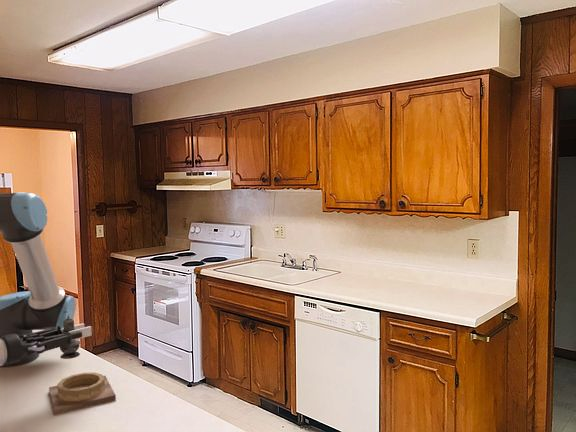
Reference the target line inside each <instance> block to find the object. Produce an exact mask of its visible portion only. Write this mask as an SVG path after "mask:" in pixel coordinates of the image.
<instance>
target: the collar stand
mask: <svg viewBox="0 0 576 432" xmlns="http://www.w3.org/2000/svg"><path fill="white" fill-rule="evenodd" d="M48 391H49V397H50V400H51V405H52V410H53V414H54V415H55V416H56V415H59V414H63V413H67V412H68V413H69V412H71V411H75V410H80V409H85V408H89V407H92V406H96V405H97V406H98V405H101V404H105V403H110V402H115V401H116V400H117V395H116V394H115V392H114V389H113V387H112V386H111V384H110V382H109V380H108V378H107V376H106V375H104V374H102V373H99V372H81V373H75V374H72V375H69V376H67V377H64V378H62V379H61V380H60V381H59V382H58V383H57V384H56V385H54V386H50V387H48Z"/></svg>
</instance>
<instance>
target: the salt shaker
mask: <svg viewBox="0 0 576 432" xmlns="http://www.w3.org/2000/svg"><path fill="white" fill-rule="evenodd" d="M74 325H75V321H74V318H73V319H70V318H69V316H68V318H67V319H65V320H64V321H63V327H64V331H62V333H64V334H65V333H69V332H68V331H72V330H75V329H74ZM80 344H81V341H80V340H78V339H76V340H73V341H72V343H71V344H70V345H65V346H62V347H59V350H60V351H61V352H62V354H61V355H60V356H59V357H60V359H62V360H63V359H64V360H69V359H74V358H78V357H79V356H80V355H81V353H80V352H78V350H79V348H80Z"/></svg>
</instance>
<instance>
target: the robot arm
mask: <svg viewBox="0 0 576 432" xmlns="http://www.w3.org/2000/svg"><path fill="white" fill-rule="evenodd" d="M47 214H48V209H47V206H46V204H45V202H44V201H43V199H42V198H41V197H40V196H39V195H38V194H35V193H32V192H23V191H22V192H21V191H18V192H0V234H1V236H2V239H3V240H4V241H5V242H7V243H9V244H10V245H11V246H12V249H13V252H14V255H15V257H16V259H17V263H18V264H19V268H20V270H21V272H22V274H23V275H22V276H23V278H24V280H25V283H26V286H27V289H28V291H27V290H26V291H17V292H12V293H9V294H4V295H2V296H0V367H13V366H19V365H22V364H27V363H29V362H32V361H34V360H36V359H38V358H39V356H40V354H43V353H45V352H48V351H50V350H51V351H52V350H54V349H57V348H60V347H62V346H65V345H70V344H71V343H72V341H73V340H79V339H83V338H87V337H91V336H92V335H93V334H92V332H93V331H92V326H91V325H90V326H85V323H79V324H74V329H75V330H72V331H68V332H69V333H65V334H64V333H62V331H64V327H63V321H64V320H65V319H67V318H68V316H69V318H70V319H73V320H74V318H75V315H76V314H75V313H76V299H75V297H74V296H73V295H70V294H69V295H66V290H64V288H63V287H61V286H59V285H58V283H57V279H56V277H55V273H54V271H53V268H52V265H51V261H50V258H49V255H48V253H47V250H46V247H45V244H44V241H43V238H42V234H43V232H44V229H45V227H46V226H47V223H48V215H47ZM34 331H35V332H34Z"/></svg>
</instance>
